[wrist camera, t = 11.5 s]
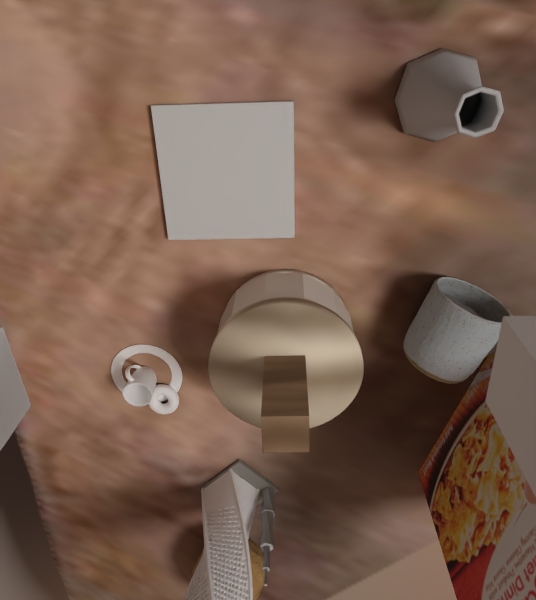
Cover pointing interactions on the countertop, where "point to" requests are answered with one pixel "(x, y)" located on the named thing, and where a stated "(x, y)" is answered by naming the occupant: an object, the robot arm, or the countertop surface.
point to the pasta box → (481, 503)
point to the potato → (256, 568)
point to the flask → (446, 97)
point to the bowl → (285, 292)
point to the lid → (285, 369)
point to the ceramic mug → (454, 330)
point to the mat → (226, 169)
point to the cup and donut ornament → (147, 380)
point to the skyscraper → (232, 534)
